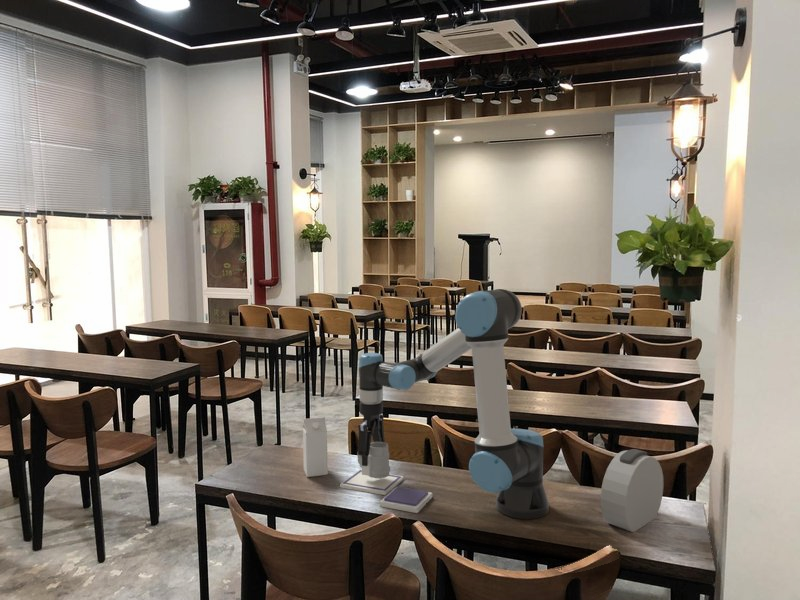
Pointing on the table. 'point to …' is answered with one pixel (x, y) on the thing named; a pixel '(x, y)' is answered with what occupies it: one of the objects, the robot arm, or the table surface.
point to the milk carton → (315, 447)
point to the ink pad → (406, 499)
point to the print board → (371, 483)
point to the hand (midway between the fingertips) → (371, 470)
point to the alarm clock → (631, 490)
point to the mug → (378, 460)
